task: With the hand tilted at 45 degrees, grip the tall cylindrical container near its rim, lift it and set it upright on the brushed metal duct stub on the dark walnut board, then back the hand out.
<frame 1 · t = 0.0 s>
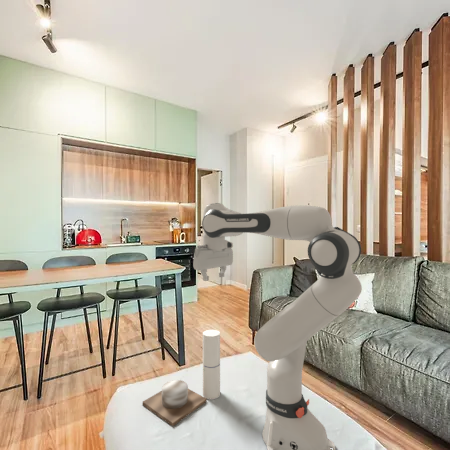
hand: (214, 278, 108), 48 cm above the table, tool pointing down, fingers open, 8 cm apart
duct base: (174, 403, 105), on the table
cylindrical container: (211, 394, 111), on the table
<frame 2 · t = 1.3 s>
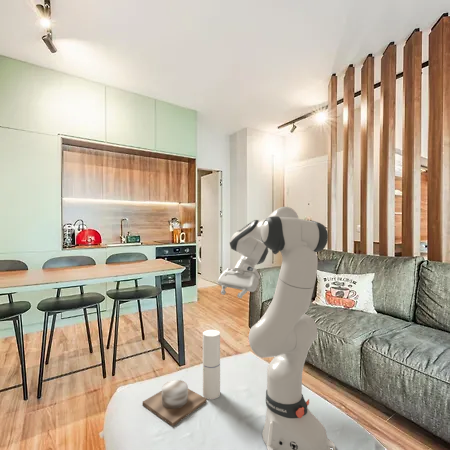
hand: (230, 295, 122), 38 cm above the table, tool tilted 45°, fingers open, 8 cm apart
nothing on the table moved.
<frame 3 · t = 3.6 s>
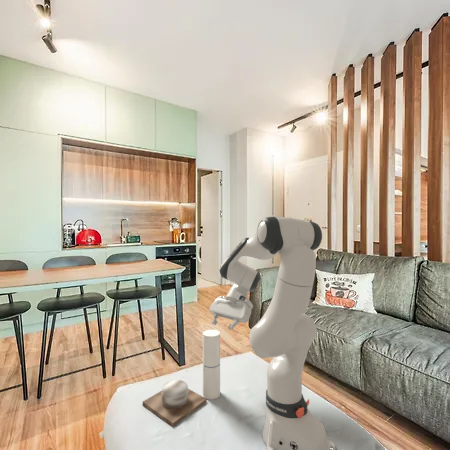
hand: (221, 326, 116), 26 cm above the table, tool tilted 45°, fingers open, 8 cm apart
nothing on the table moved.
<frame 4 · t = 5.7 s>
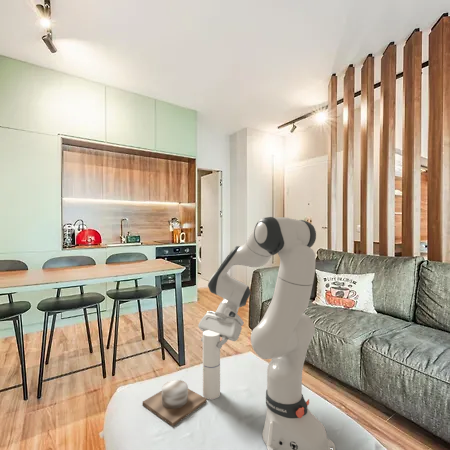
hand: (210, 344, 111), 20 cm above the table, tool tilted 45°, fingers closed on cylindrical container, 7 cm apart
cylindrical container: (211, 394, 111), on the table, touching gripper
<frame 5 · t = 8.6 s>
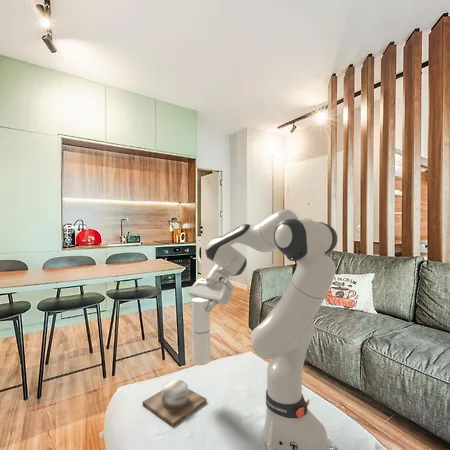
hand: (199, 309, 109), 35 cm above the table, tool tilted 45°, fingers closed on cylindrical container, 7 cm apart
cylindrical container: (201, 361, 110), point 14 cm above the table, touching gripper
when the fingers open (28 cm above the table, at t = 11.6 s): cylindrical container stays where it is, resting on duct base.
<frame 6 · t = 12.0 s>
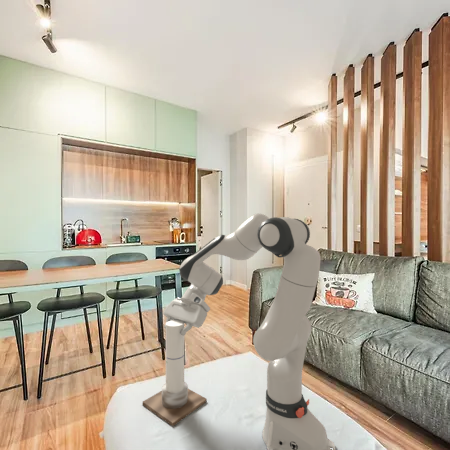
hand: (173, 331, 105), 28 cm above the table, tool tilted 45°, fingers open, 8 cm apart
cylindrical container: (175, 387, 105), point 6 cm above the table, touching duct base
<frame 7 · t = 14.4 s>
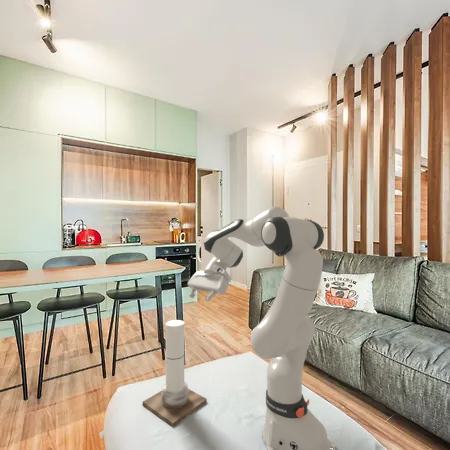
hand: (198, 298, 115), 38 cm above the table, tool tilted 45°, fingers open, 8 cm apart
nothing on the table moved.
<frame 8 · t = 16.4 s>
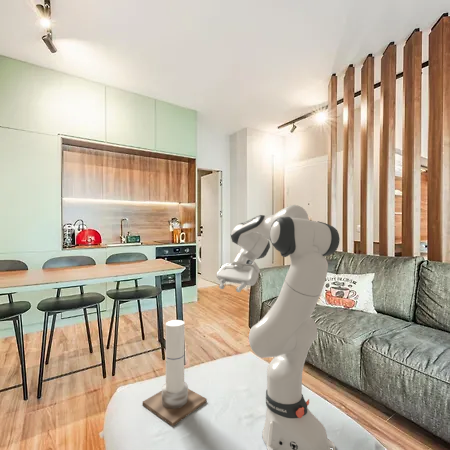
hand: (229, 289, 118), 41 cm above the table, tool tilted 45°, fingers open, 8 cm apart
nothing on the table moved.
at the end: cylindrical container 0.1 cm off-centre on the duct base, point 6.0 cm above the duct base's base; cylindrical container tilted 0°; the gripper is holding nothing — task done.
